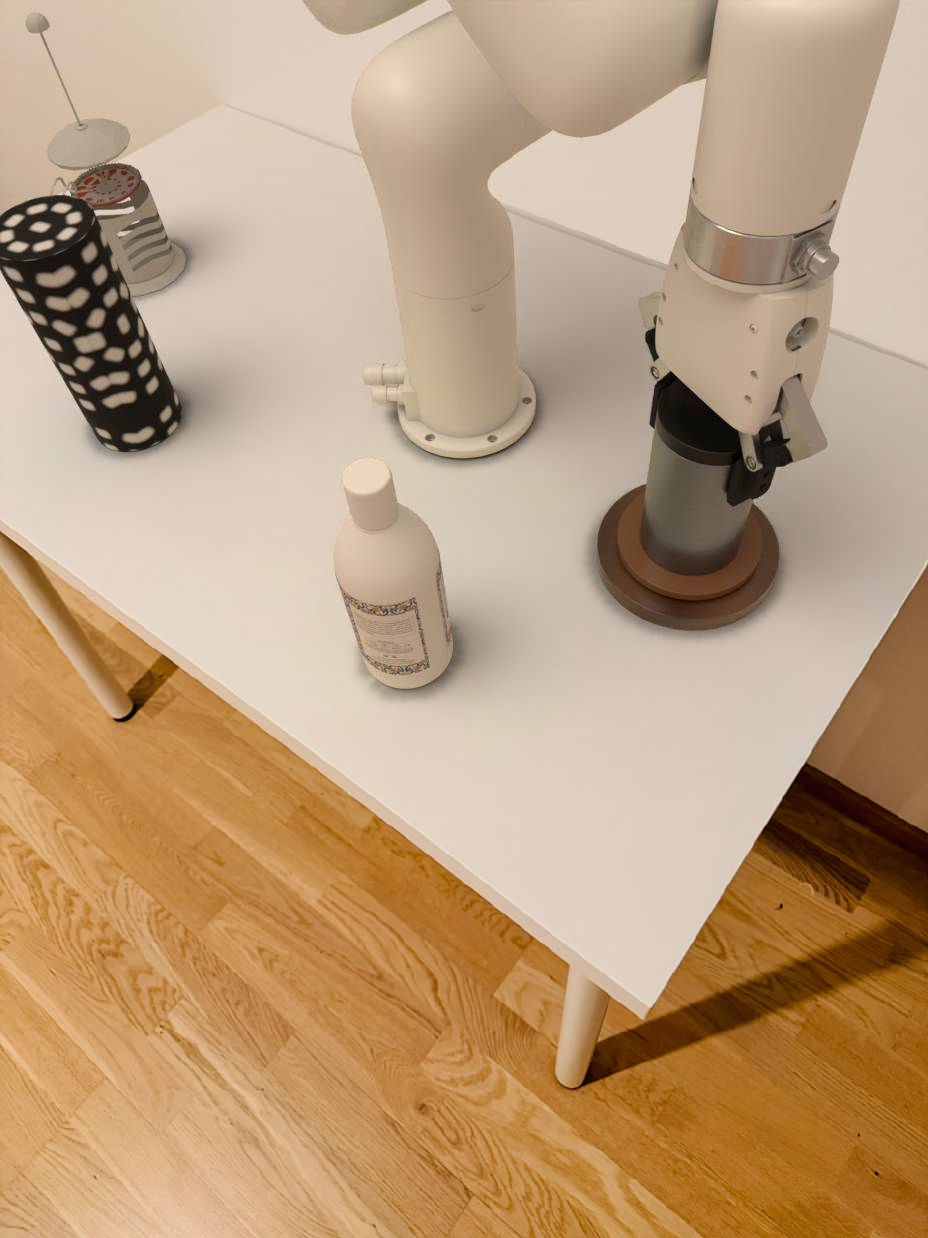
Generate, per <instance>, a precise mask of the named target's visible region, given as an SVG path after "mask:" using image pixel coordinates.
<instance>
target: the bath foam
mask: <svg viewBox="0 0 928 1238" xmlns="http://www.w3.org/2000/svg"><path fill="white" fill-rule="evenodd" d="M341 483H342V484H341V485H342V487H343V488H342V489H343V490H344V495H345V499H346V502H347V505H348V509H349V512H350V514H349V515H347V517H346V519H345V520H344V522H343V523H342V525H341V527H340V529H339V530H338V532H337V535H336V538H335V542H334V548H333V565H334V567H333V568H334V574H335V578H336V582H337V584H338V587H339V591H340V593H341V596H342V599H343V600H342V601H343V602H344V606H345V609H346V612H347V615H348V618H349V621H350V624H351V627H352V630H353V633H354V636H355V639H356V642H357V645H358V648H359V651H360V654H361V657H362V660H363V662H364V665H365V667H366V669H367V670H368V672H369V673H370V675H372V676H373V678H375V679H376V680H378V681H379V682H380V683H382V684H383V685H385V686H388V687H391V688H394V689H401V690H406V689H407V690H408V689H415V688H416V689H417V688H420V687H422V686H426V685H427V684H430V683H431V682H433V681H435V680H436V679H437V678H438V677H440V676H441V675H442V674H443V673H444V671H445V670H446V669H447V667H448V666H449V664H450V662H451V660H452V656H453V652H454V639H453V633H452V624H451V623H452V622H451V617H450V611H449V605H448V599H447V593H446V586H445V580H444V574H443V567H442V561H441V553H440V550H439V547H438V546H439V545H438V544H437V541H436V538H435V536H434V533H432V531H431V529H430V528H429V526H428V524H427V523H426V522H425V520H423V518H422V517H421V516H419V514H417V513H416V511H413V510H412V509H410V508H409V507H408V506H405V505H404V504H402V503H399V502H398V498H397V497H398V496H397V491H396V488H395V482H394V478H393V473H392V471H391V468H390V466H389V465H388V464H387V463H386V461H384V460H382V459H380V458H376V457H363V458H359V459H356V460H354V461H352V462H351V463H350V464H348V466H346V468H345V469H344V470H343V472H342V476H341Z"/></svg>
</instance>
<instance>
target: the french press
mask: <svg viewBox="0 0 928 1238" xmlns="http://www.w3.org/2000/svg"><path fill="white" fill-rule="evenodd" d="M24 22H25V28H26V29H27V31H28V33H30V34H39V35H40V37H41V40H42V42H43V45H44V47H45V49H46V51H47V54H48V56H49V58H50V61H51V64H52V65H53V68H54V70H55V73H56V75H57V78H58V80H59V82H60V84H61V87H62V89H63V91H64V93H65V95H66V98H67V100H68V103H69V105H70V107H71V109H72V112H73V114H74V116H75V119H76V121H75V122H72V123H69V124H67V125H65V126H64V127H63V128H62V129H61V130H60V131H59V132H56V134H55V135H54V136H53V137H52V139H51V140H50V142H49V144H48V146H47V148H46V150H45V153H46V156H47V159H48V161H50V163H52V164H54V165H55V166H56V167H58V168H60V169H63V170H67V171H73V172H74V171H82V170H85V171H84V172H81V173H80V174H79V175H78V177H76V178H75V179H74V180H70V181H68V182H67V183H66V182H65V181H64V178H63V177H61V176H58V177H56V178H55V179H54V181H53V183H52V184H51V187H50V190H49V196H51V195H54V189H55V187H56V185H57V183H58V181H60V182H61V183H62V185H63V188H64V189H63V191H62V194H61V195H66V193H67V191H68V192H69V193H70V196H74V197H77V198H80V199H83V200H84V201H86V202H88V203H89V204H90V205H91V206H92V208H93V210H94V212H95V211H116V210H125V209H128V208H133V209H134V210H133V211H131V212H128V213H120V214H98V215H97V214H96V217H97V219H98V221H99V223H100V226H101V228H102V230H103V232H104V234H105V237H106V239H107V241H108V243H109V246H110V248H111V250H112V252H113V255H114V257H115V259H116V261H117V263H118V266H119V268H120V270H121V272H122V275H123V277H124V279H125V281H126V283H127V286H128V288H129V290H130V292H131V295H132V297H137V296H138V297H139V296H140V297H141V296H145V295H148V294H151V293H153V292H154V293H155V292H157V291H160V290H162V289H164V288H165V287H166V286H168V285H170V284H171V283H173V282H175V281H176V280H177V278H178V277H179V276H180V275H181V274H182V273H183V272H184V270H185V267H186V262H187V256H186V255H185V252H184V250H183V248H181V247H180V246H178V245H176V244H175V243H174V242H172V241H170V238H169V236H168V234H167V231H166V228H165V225H164V224H163V220H162V218H161V215H160V213H159V210H158V209H159V208H158V207H157V205H156V203H155V200H154V197H153V194H152V192H151V190H150V187H149V185H148V184H147V182H146V181H145V180H144V179H142V178H143V176H142V174H141V172H140V170H139V169H138V168H136V167H135V166H133V165H131V164H128V163H127V164H125V163H120V162H118V163H117V162H114V163H113V162H112V163H109V162H111V161H113V160H115V159H117V158H119V157H120V156H121V154H122V153H123V152H124V151H126V150H127V148H128V146H129V144H130V140H131V134H130V132H129V129H128V127H127V126H126V125H124V124H122V123H120V122H119V121H116V120H111V119H108V118H102V117H100V118H85V119H80V118H79V116H78V114H77V111H76V109H75V107H74V104H73V102H72V100H71V97H70V95H69V93H68V90H67V88H66V86H65V83H64V80H63V78H62V76H61V74H60V72H59V71H60V70H59V69H58V67H57V65H56V62H55V60H54V57H53V55H52V52H51V51H50V48H49V45H48V44H47V41H46V39H45V36H44V34H43V33H44V32H45V31H46V32H47V31H48V30H49V29H50V27H51V25H50V22H49V20H48V18H47V17H46V16H45V15H44V14H42V13H41V12H30V13H29V14H27V16H26V18H25V21H24ZM127 199H130V200H127ZM125 200H127V201H125ZM120 232H121V233H122V232H128V233H126V234H125V235H118V234H119V233H120Z"/></svg>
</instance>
